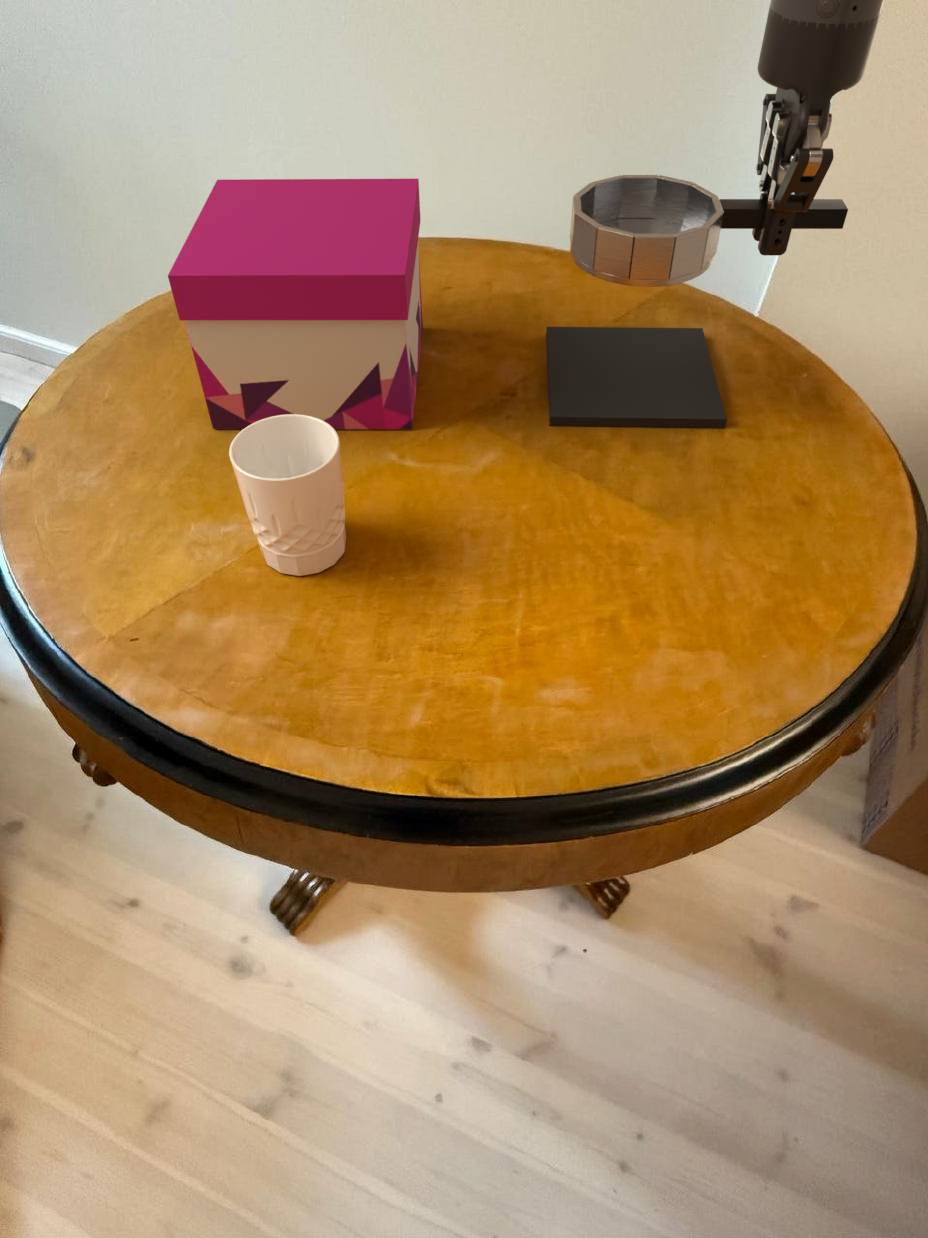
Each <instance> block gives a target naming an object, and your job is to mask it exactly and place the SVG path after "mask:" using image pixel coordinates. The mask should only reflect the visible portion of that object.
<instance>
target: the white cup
mask: <svg viewBox="0 0 928 1238" xmlns="http://www.w3.org/2000/svg"><path fill="white" fill-rule="evenodd" d="M228 450H229V451H228V456H229V460H230V463H231V466H232V469H233V472H234V477H235V478H236V482H237V485H238V488H239V492H240V495H241V499H242V502H243V505H244V508H245V511H246V514H247V517H248V520H249V523H250V525H251V528H252V530H253V531H252V532H253V534H254V536H255V537H256V539H257V544H258V545H259V546H258V547H259V550H260V553H261V555H262V557H263V558H264V562H265V564H266V565H267V566H269V567H270V568H272V569H273V570H275V571H277V572H279V573H280V574H282V575H283V574H284V575H290V576H295V577H297V576H298V577H302V576H310V575H314V574H315V575H316V574H319V573H321V572H323V571H325V570H327V569H329V568H330V567H333V566H334V565H335V564H337V562H338V561H339V560H340V559H341V558H342V556H343V555H344V554H345V552H346V543H347V533H346V523H345V522H346V506H345V489H344V478H343V477H344V476H343V467H342V455H341V454H342V453H341V442H340V437H339V434H338V432H337V431H336V429H334V428H333V427H332V426H331V425H329V424H328V423H326V422H325V421H323V420H321V419H318V418H315V417H312V416H307V415H300V414H285V415H277V416H272V417H268V418H265V419H262V420H259V421H257V422H255V423H253V424H251V425H249V426H247V427H246V428H244V429H241V431H239V432H238V433H237V434H236V435H235V437H233V440H232V441H231V442H230V445H229V449H228Z"/></svg>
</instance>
